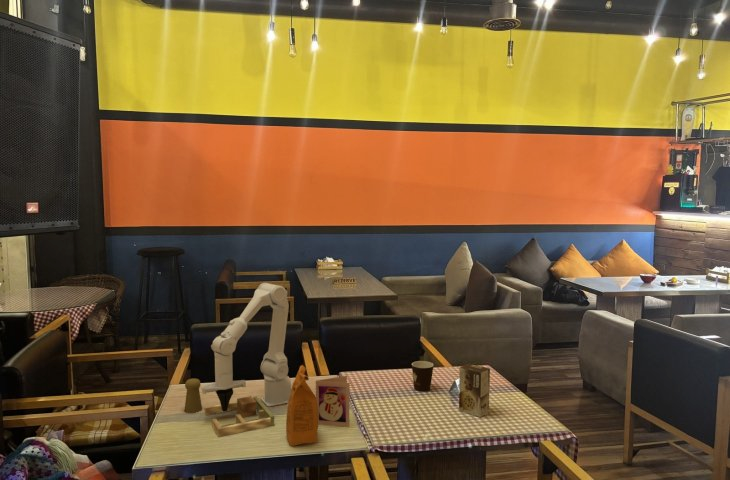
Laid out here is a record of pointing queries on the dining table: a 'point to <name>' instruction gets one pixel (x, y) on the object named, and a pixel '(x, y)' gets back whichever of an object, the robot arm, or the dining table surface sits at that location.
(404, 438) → the dining table surface
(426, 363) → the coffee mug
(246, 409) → the walnut block
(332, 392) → the greeting card
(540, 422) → the dining table surface
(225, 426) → the trap lane
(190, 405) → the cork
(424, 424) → the dining table surface
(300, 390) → the coffee package
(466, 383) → the coffee box
